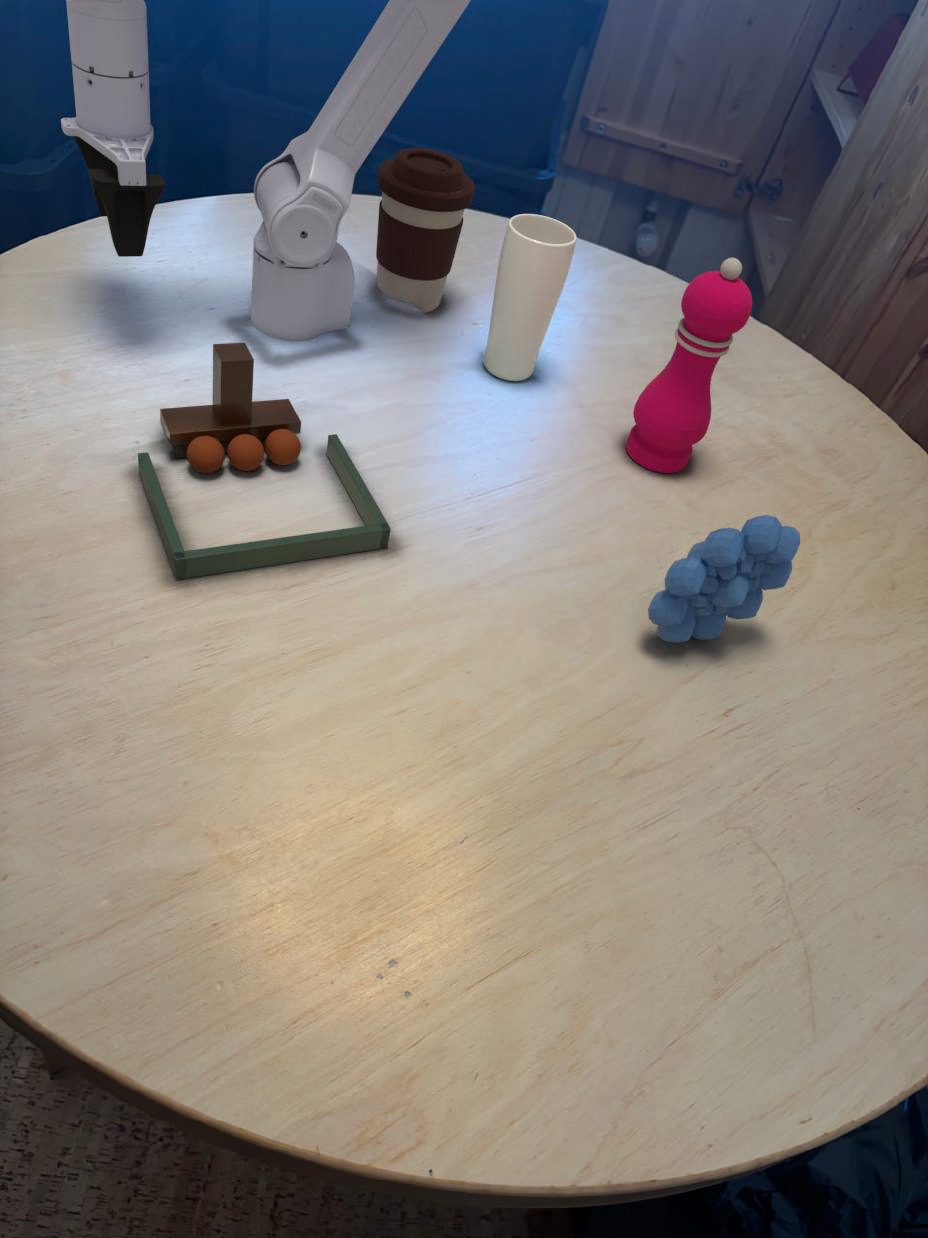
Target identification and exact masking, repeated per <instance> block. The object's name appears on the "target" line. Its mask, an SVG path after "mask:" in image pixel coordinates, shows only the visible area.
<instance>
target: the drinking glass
mask: <svg viewBox="0 0 928 1238" xmlns="http://www.w3.org/2000/svg"><path fill="white" fill-rule="evenodd" d="M577 239H578V238H577V233H576V232H575V231H574V230H573V229H572V227H570V226H568V225H567V224H565V223H564V222H562V221H560V220H559V219H555V218H552V217H549V216H545V215H542V214H535V213H522V214H516V215H514V216H512V217H510V218H509V219H508V223H507V226H506V230H505V232H504V237H503V241H502V244H501V249H500V254H499V258H498V264H497V270H496V277H495V284H494V291H493V299H492V306H491V314H490V319H489V328H488V334H487V340H486V347H485V350H484V354H483V365H484V367H485V369H486V370H487V371H488V372H489V373H490V374H491V375H493V376H495V377H496V378H499V379H501V380H505V381H508V382H509V381H510V382H519V381H520V382H521V381H525V380H526V379H528V378H530V377H531V376H532V374H534V371H535V368H536V363H537V360H538V356H539V354H540V351H541V349H542V346H543V343H544V340H545V337H546V334H547V333H548V329H549V326H550V324H551V321H552V319H553V316H554V313H555V311H556V308H557V306H558V304H559V300H560V297H561V295H562V293H563V292H562V291H563V289H564V287H565V284H566V282H567V278H568V275H569V272H570V268H571V265H572V261H573V256H574V254H575V253H574V252H575V249H576V243H577Z"/></svg>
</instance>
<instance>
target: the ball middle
mask: <svg viewBox="0 0 928 1238" xmlns="http://www.w3.org/2000/svg"><path fill="white" fill-rule="evenodd" d="M226 454H227V458H228V461H229V462H230V464H231V465H232V467H234V468H236V469H237V470H239V471H242V472H251V471H254V470H256V469H258V468H259V467H260V466H261V464H263V461H264V460H265V449H264V448H263V445H262V443H261V442H260V441H259V440H258V439H257V438H256V437H254V436H252V435H248V434H242V435H238V436H236V437H235V438H233V439H232V440H231V442H230V443H229V445H228V449H227V453H226Z"/></svg>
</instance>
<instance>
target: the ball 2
mask: <svg viewBox="0 0 928 1238" xmlns="http://www.w3.org/2000/svg"><path fill="white" fill-rule="evenodd" d="M301 451H302V446H301V441H300V439H299V437H298V436H297V434H294V433H293V432H291V431H289V430H286V429H278V430H275V431H273V432H272V433H270V434H269V435H268V437H267V439H266V441H265V449H264V453H265V455H266V456H267V458H268V459H269V460H270V461H271V462H272V463H274V464H275V465H279V466H287V465H291V464H292V463H294V462H295V461H296V460H297V459H298V458H299V456H300V455H301Z"/></svg>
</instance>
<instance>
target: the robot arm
mask: <svg viewBox="0 0 928 1238" xmlns="http://www.w3.org/2000/svg"><path fill="white" fill-rule="evenodd" d="M471 1H472V0H388V1H387V2H388V3H387V4H386V5H385V6H384V8H383V10H382V12H381V13H380V15H379V16H378V18H377V19H376V22H375V23H374V25H373V26H372V28H371V29H370V31H369V33H368V34H367V36H366V38H365V39H364V41H363V43H362V44H361V46H360V47H359V49H358V50H357V52H356V54H355V55H354V57H353V58H352V60H351V61H350V63H349V65H348V66H347V68H346V69H345V71H344V73H343V74H342V76H341V77H340V79H339V81H338V82H337V84H336V86H335V87H334V89H333V90H332V92H331V94H330V95H329V97H328V99H326V101H325V103H324V105H323V106H322V108H321V110H320V111H319V112H318V114H317V117H315V119H314V121H313V122H312V124H311V126H310V127H309V129H308V130H307V131H305V132H304V133H302V134H300V135H298V136H295V138H293V139H292V140H290V142H289V143H288V145H287V147H286V148H285V150H284V151H283V152H282V153H281V154H280V155H279V156H277V157H276V158H274V159H272V160H271V161H269V162H267V163H266V164H265V165H264V166H263V167H262V168H261V169H260V170H259V172H258V173H257V175H256V177H255V180H254V185H253V197H254V202H255V204H256V206H257V209H258V211H259V212H260V215H261V217H262V222H261V224H260V227H259V229H258V230H257V231H256V233H255V234H254V237H253V247H252V248H253V249H252V271H251V276H252V277H251V301H250V322H251V324H252V326H253V327H254V329H256V330H257V331H259V332H260V333H262V334H264V335H265V336H268V337H270V338H274V339H276V340H282V341H291V342H301V341H302V342H303V341H309V340H312V339H314V338H316V337H319V336H321V335H323V334H325V333H329V332H333V331H338V330H343V329H347V328H350V325H351V317H352V309H353V301H354V290H355V283H356V281H355V279H356V278H355V269H354V266H353V261H352V259H351V257H350V255H349V252H348V251H347V250H346V249H345V247H344V246H343V245H342V244H340V243H339V242H338V236H339V230H340V224H341V221H342V220H343V218H344V216H345V214H346V213H347V211H348V209H349V208H350V204H351V202H352V201H351V200H352V195H353V188H354V183H355V177H356V174H357V172H358V171H359V169H360V168H361V166H362V165H363V164H364V162H365V160H366V159H367V157H368V156H369V154H370V153H371V152H372V150H373V148H374V147H375V145H376V144H377V142H378V141H379V139H380V138H381V136H382V135H383V133H384V132H385V130H386V129H387V127H388V126H389V124H390V123H391V121H392V120H393V118H394V117H395V115H396V114H397V113H398V110H399V109H400V108H401V106H402V105H403V103H404V102H405V101H406V99H407V98H408V96H409V94H410V93H411V91H412V90H413V88H414V86H415V85H416V84H417V82H418V81H419V80H420V78H421V77H422V75H423V74H424V71H425V70H426V68H427V67H428V66H429V64H430V63H431V62H432V60H433V58H434V57H435V55H436V53H437V52H438V51H439V49H440V48H441V46H442V44H443V43H444V42H445V40H446V38H447V37H448V36H449V34H450V32H451V31H452V29H453V28H454V26H455V25H456V23H457V22H458V20H459V19H460V17H461V16H462V15H463V14H464V12H465V10H466V8H467V7H468V6H469V4H470V2H471ZM65 2H66V11H67V13H66V15H67V24H68V37H69V48H70V61H71V70H72V81H73V92H74V93H73V94H74V103H75V104H74V105H75V115H76V116H75V117H63V118H61V119H60V125H61V127H60V128H61V130H62V132H63V133H64V134H65V135H66V136H69V137H72V138H73V140H74V141H75V143H76V144H77V146H78V148H79V150H80V152H81V155H82V157H83V159H84V162H85V166H86V168H87V172H88V176H89V179H90V183H91V188H92V192H93V195H94V199H95V203H96V207H97V209H98V211H99V214H100V216H101V217H106V218H107V223H108V227H109V231H110V232H109V233H110V237H111V240H112V244H113V247H114V249H115V252H116V254H117V256H118V257H123V258H125V257H127V258H128V257H130V258H131V257H133V258H134V257H143V255H144V252H145V248H146V244H147V240H148V239H147V238H148V233H149V226H150V222H151V218H152V215H153V212H154V210H155V207H156V205H157V203H158V201H159V199H160V198H161V196H162V195H163V193H164V190H165V186H166V185H165V183H166V182H165V180H164V178H163V177H162V175H161V174H152V173H151V174H147V163H146V159H147V156H148V154H149V151H150V149H151V146H152V145H153V141H154V138H155V137H154V136H155V135H154V127H153V125H152V124H151V122H152V121H151V97H150V95H151V94H150V70H149V45H148V44H149V43H148V19H147V18H148V15H147V5H146V1H144V0H65Z"/></svg>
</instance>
